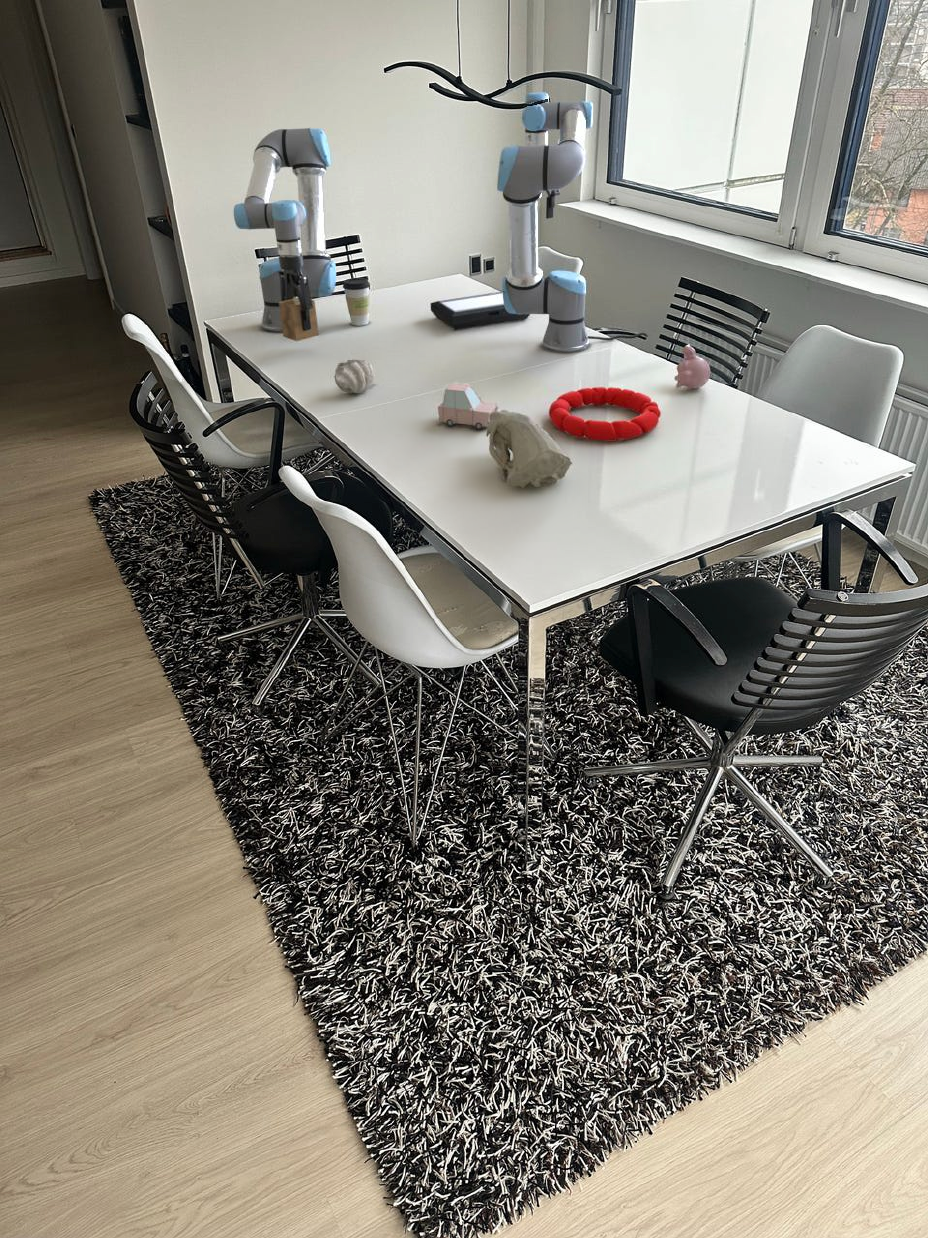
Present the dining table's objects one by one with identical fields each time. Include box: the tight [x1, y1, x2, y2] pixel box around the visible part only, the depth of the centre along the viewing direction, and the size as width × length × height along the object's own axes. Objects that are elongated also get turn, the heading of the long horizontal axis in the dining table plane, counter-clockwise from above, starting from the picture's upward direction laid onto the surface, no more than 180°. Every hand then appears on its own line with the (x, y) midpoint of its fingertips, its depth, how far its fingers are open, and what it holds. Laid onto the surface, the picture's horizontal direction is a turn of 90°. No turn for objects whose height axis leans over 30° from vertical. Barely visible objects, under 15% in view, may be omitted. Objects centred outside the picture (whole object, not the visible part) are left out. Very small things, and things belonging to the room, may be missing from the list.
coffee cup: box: [342, 277, 371, 327], centre depth 323 cm, size 10×10×15 cm
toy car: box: [437, 382, 499, 431], centre depth 243 cm, size 9×15×10 cm, turn 70°
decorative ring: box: [548, 386, 661, 442], centre depth 242 cm, size 7×30×30 cm
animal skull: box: [485, 409, 573, 489], centre depth 216 cm, size 17×25×20 cm
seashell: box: [333, 359, 375, 394], centre depth 265 cm, size 10×15×10 cm
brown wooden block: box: [279, 297, 320, 342], centre depth 293 cm, size 8×9×11 cm
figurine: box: [674, 344, 711, 390], centre depth 259 cm, size 9×11×12 cm
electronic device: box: [430, 291, 531, 331], centre depth 325 cm, size 32×6×20 cm
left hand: (300, 326), depth 295 cm, fingers closed on brown wooden block, 8 cm apart
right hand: (535, 215), depth 308 cm, fingers open, 13 cm apart
